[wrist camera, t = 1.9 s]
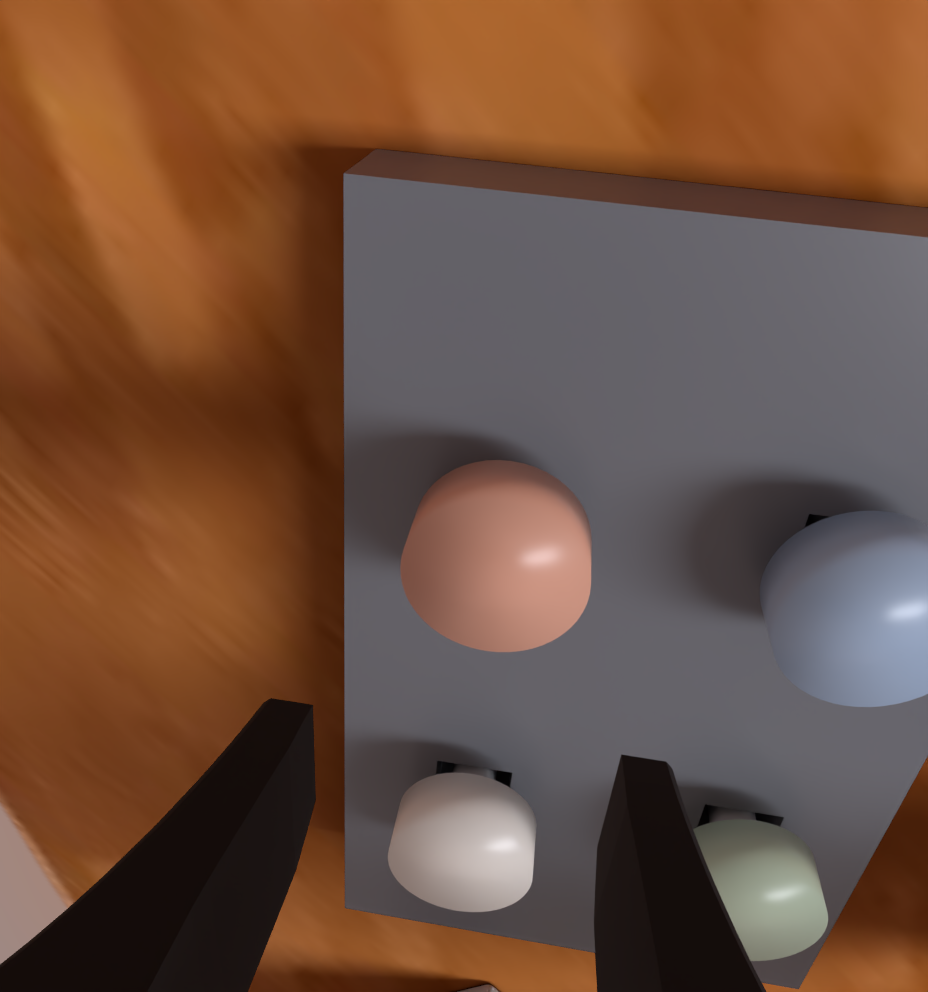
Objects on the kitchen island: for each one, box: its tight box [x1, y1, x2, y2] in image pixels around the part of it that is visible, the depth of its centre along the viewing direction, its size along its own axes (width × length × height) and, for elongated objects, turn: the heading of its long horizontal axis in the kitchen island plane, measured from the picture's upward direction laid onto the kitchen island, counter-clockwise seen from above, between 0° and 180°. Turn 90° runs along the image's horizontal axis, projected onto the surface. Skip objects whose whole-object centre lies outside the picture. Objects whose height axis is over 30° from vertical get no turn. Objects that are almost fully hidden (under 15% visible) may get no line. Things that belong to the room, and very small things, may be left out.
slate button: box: [760, 511, 928, 707], centre depth 17 cm, size 4×4×4 cm
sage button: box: [693, 805, 828, 961], centre depth 21 cm, size 4×4×4 cm
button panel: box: [344, 149, 928, 989], centre depth 21 cm, size 14×22×2 cm, turn 176°
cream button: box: [388, 763, 536, 912], centre depth 22 cm, size 4×4×4 cm
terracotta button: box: [400, 460, 592, 652], centre depth 17 cm, size 4×4×4 cm
